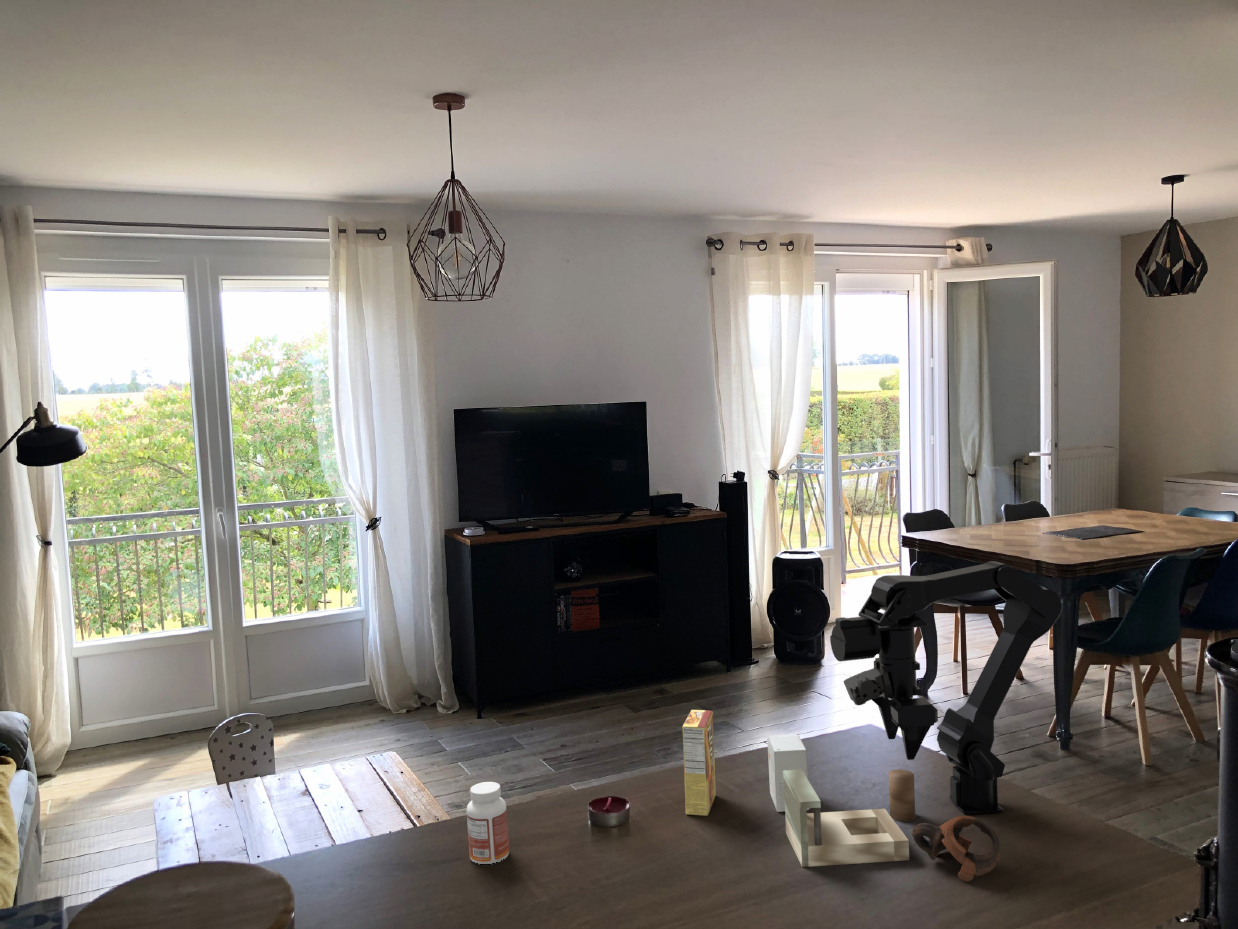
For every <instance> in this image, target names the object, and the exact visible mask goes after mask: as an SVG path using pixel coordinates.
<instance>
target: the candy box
mask: <svg viewBox="0 0 1238 929" xmlns="http://www.w3.org/2000/svg"><path fill="white" fill-rule="evenodd" d="M714 737H715V735H714V711H713V710H704V709H703V710H702V709H690V712H689V713H688V715H687V717H686V719H685V721H684V722H683V725H682V745H683V746H682V747H683V748H682V749H683V771H684V772H683V774H684V776H683V777H684V778H683V779H684V804H685V805H684V808H685V815H687V816H701V817H702V816H705V817H708V816H709V813H710V811H711V809H712V807H713V803H714V801H715V797H716V773H715V772H716V770H715V739H714Z"/></svg>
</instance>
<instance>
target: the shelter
mask: <svg viewBox="0 0 1238 929" xmlns="http://www.w3.org/2000/svg"><path fill="white" fill-rule="evenodd" d="M783 777H784V794H785V811H784V812H785V814H784V816H785V833H786V836H787V838H788V840H789V842H790V845H791V846H792V849H793V850H794V853H795V855H796V857H797V859H798V861H799V863H800V866H801V867H802V868H805V867H806V868H808V867H823V866H837V865H852V864H853V865H855V864H869V863H870V864H871V863H882V862H883V863H885V862H899V861H910V844H909V843H910V842H909V841H910V840H909V839H908V838H907V836H906V835H905V834H904V832H903V831H902V830H901V828H900V827H899V825H898V824H897V823H896V822H895V819H893V818H891V816H890V813H888V811H887V809H886V808H874V809H870V808H869V809H859V810H858V809H856V810H842V811H841V810H839V811H825V812H824V811H823V812H821V808H822V807H821V806H822V805H821V804H822V803H821V799H820V797H819V796H818V794H817V793H816V791H815V789H814V788H813V786H812V784H811V782H810V781H809V778H808V779H807V778H806V776H805V774H804V773H803V771H802V769H801V770H785V771H783ZM807 808H809V809H812V810H813V812H812V813H811V812H810V813H809V812H807V811H808V810H807Z"/></svg>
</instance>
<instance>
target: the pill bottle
mask: <svg viewBox="0 0 1238 929" xmlns="http://www.w3.org/2000/svg"><path fill="white" fill-rule="evenodd" d="M469 791H470V792H469V795H470V800H471V801H469V803H468V804H467V806H466V821H467V822H466V823H467V824H466V825H467V836H468V853H469V859H470V860H471V861H472V862H473V863H474V862H475V863H474V864H476V863H478V865H480V864H491V865H493V864H492V863H495V864H497V863H496V862H498V863H500V862H502V861H504V860H505V859H507V857H508V856H509V854H510V842H509V841H510V840H509V838H510V837H509V826H508V812H507V811H508V810H507V803H506V801H505V800H504V798H502V797H501V794H502V792H501V791H502V790H501V784H500V783H498V782H495V781H483V782H478V783H476V784H474V785H472V786H471V787H470V788H469ZM503 859H504V860H503ZM501 860H502V861H501Z"/></svg>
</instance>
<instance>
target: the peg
mask: <svg viewBox="0 0 1238 929" xmlns="http://www.w3.org/2000/svg"><path fill="white" fill-rule="evenodd" d="M915 790H916V789H915V773H913V772H912V771H909V770H907V769H901V768H900V769H891V770H890V771H888V797H889V798H888V800H889V815H890V816H891V818H892V819H893V820H894V821H898V822H911V821H914V820H915V819H916V800H915V799H916V797H915V796H916V795H915V794H916V791H915Z"/></svg>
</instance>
